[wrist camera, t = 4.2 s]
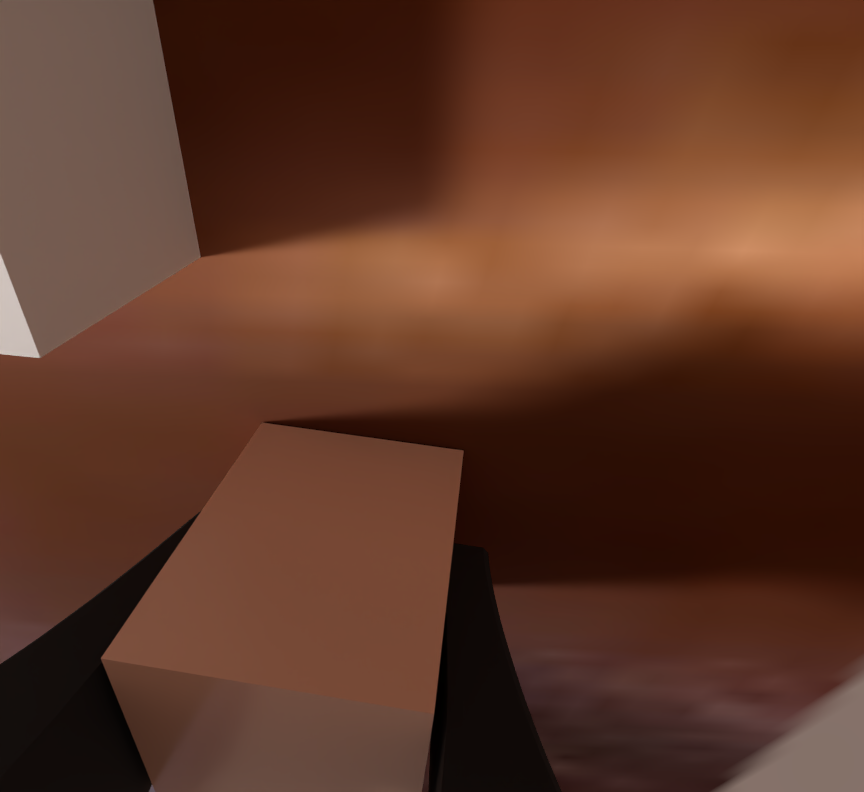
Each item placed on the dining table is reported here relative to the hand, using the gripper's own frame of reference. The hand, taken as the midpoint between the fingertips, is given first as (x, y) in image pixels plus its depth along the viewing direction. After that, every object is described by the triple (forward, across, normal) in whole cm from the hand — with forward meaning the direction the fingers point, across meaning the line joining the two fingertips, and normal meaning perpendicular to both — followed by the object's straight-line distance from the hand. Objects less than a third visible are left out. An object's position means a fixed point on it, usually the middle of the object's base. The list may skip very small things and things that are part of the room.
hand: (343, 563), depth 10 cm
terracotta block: (+1, 0, 0) cm, 1 cm away
